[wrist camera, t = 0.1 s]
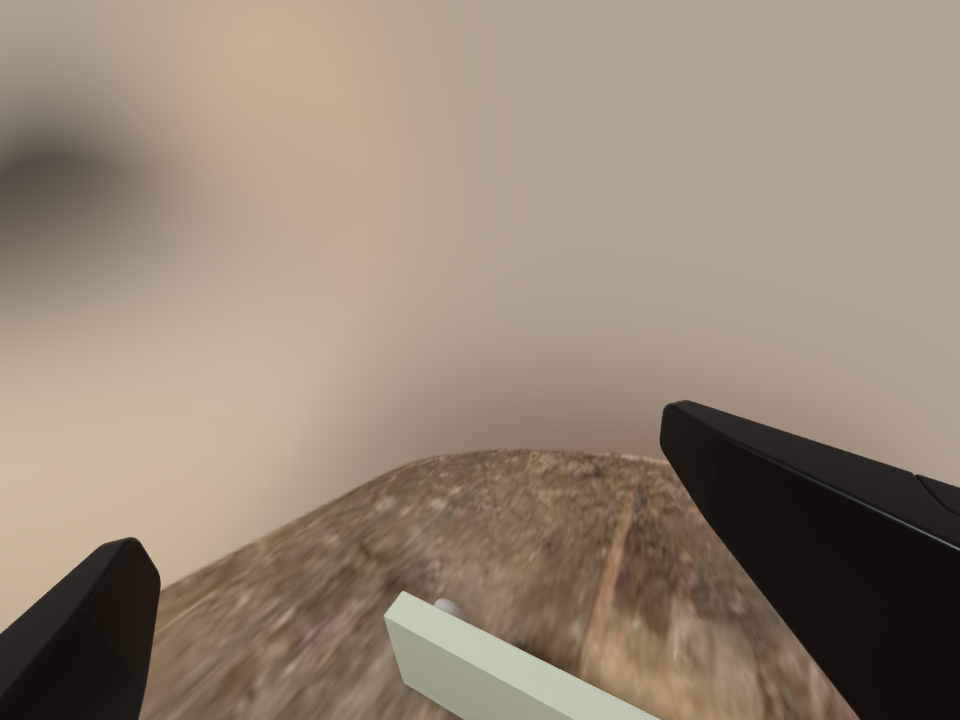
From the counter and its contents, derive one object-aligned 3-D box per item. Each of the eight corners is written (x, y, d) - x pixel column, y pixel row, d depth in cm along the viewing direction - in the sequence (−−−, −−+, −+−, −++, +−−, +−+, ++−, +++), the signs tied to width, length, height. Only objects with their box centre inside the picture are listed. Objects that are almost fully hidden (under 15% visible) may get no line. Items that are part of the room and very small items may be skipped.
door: (746, 892, 15) (779, 830, 12) (403, 682, 21) (383, 616, 19) (751, 809, 16) (781, 741, 14) (432, 637, 22) (417, 571, 20)
